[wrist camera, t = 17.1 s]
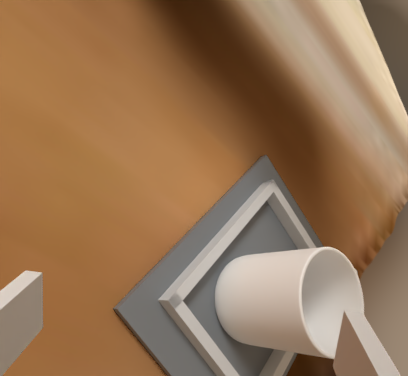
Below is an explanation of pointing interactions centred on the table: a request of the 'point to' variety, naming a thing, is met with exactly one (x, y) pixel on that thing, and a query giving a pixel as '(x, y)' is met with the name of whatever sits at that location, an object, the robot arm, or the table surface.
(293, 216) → the rail plate
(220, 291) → the cup
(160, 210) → the table surface
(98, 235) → the table surface
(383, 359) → the robot arm
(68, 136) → the table surface
